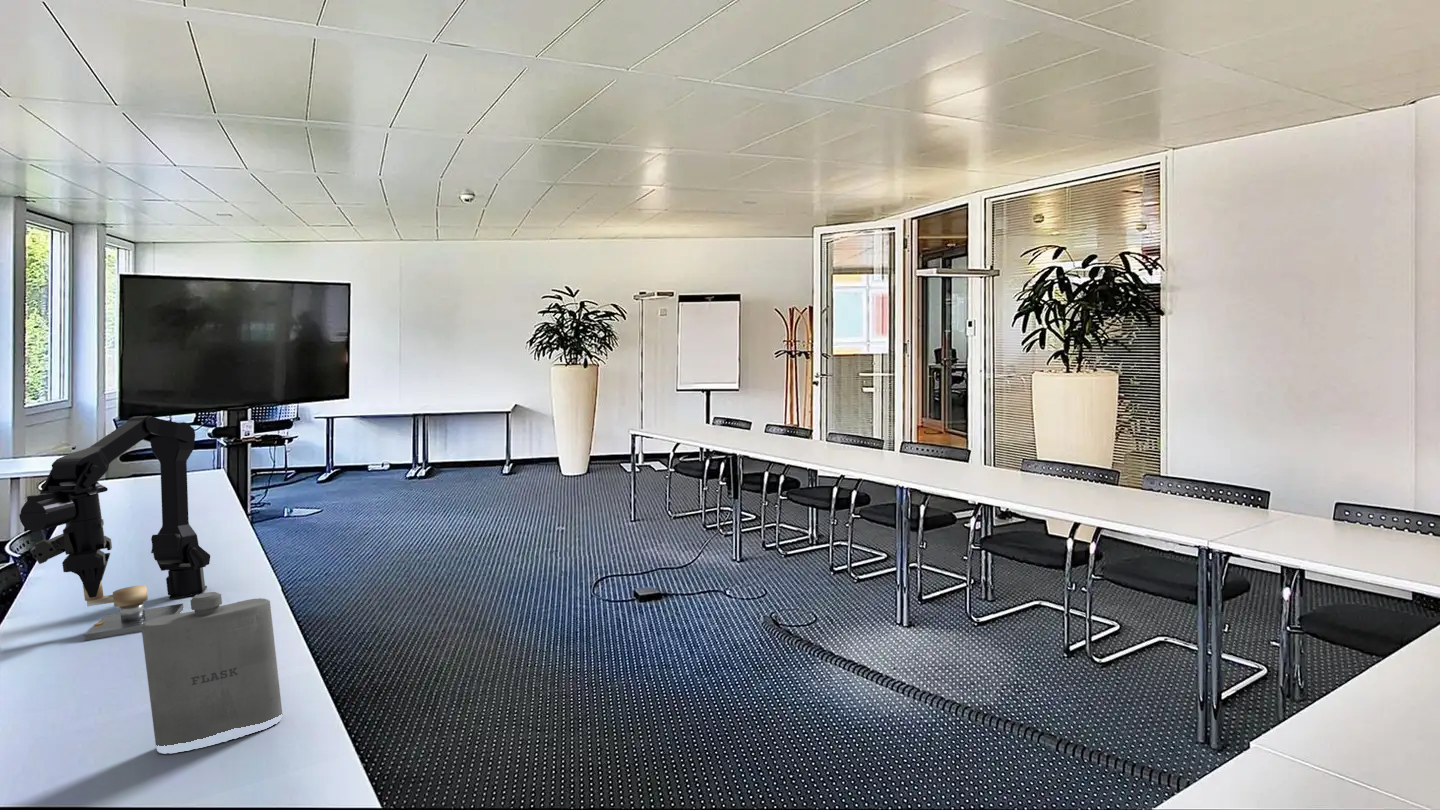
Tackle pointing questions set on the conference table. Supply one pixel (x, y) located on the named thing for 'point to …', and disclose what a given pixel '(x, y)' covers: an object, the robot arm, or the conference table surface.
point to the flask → (211, 669)
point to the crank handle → (118, 596)
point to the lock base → (128, 626)
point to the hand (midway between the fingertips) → (94, 594)
